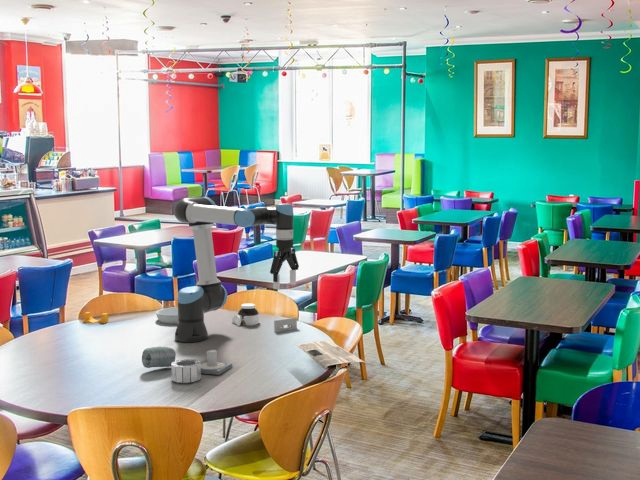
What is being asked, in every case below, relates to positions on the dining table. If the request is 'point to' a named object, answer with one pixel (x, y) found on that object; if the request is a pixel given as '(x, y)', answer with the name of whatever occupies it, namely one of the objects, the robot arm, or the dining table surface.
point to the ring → (186, 370)
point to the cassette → (289, 322)
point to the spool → (158, 357)
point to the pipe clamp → (91, 320)
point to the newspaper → (328, 353)
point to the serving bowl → (168, 315)
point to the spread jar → (246, 315)
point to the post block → (214, 364)
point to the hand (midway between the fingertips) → (284, 286)
